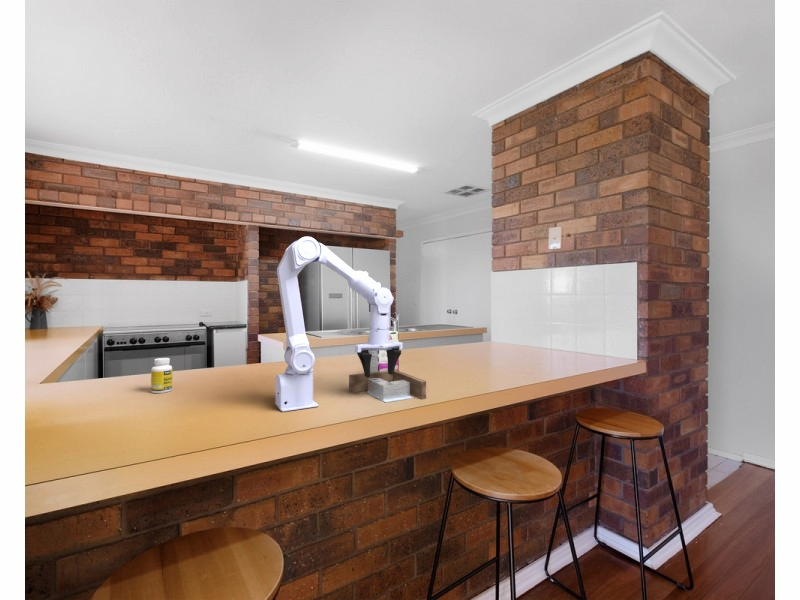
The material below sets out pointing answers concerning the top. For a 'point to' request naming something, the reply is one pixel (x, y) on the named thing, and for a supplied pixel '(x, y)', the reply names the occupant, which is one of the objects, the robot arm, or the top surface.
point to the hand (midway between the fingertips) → (379, 375)
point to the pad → (393, 399)
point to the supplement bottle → (161, 376)
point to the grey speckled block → (388, 388)
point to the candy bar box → (382, 355)
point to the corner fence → (361, 381)
